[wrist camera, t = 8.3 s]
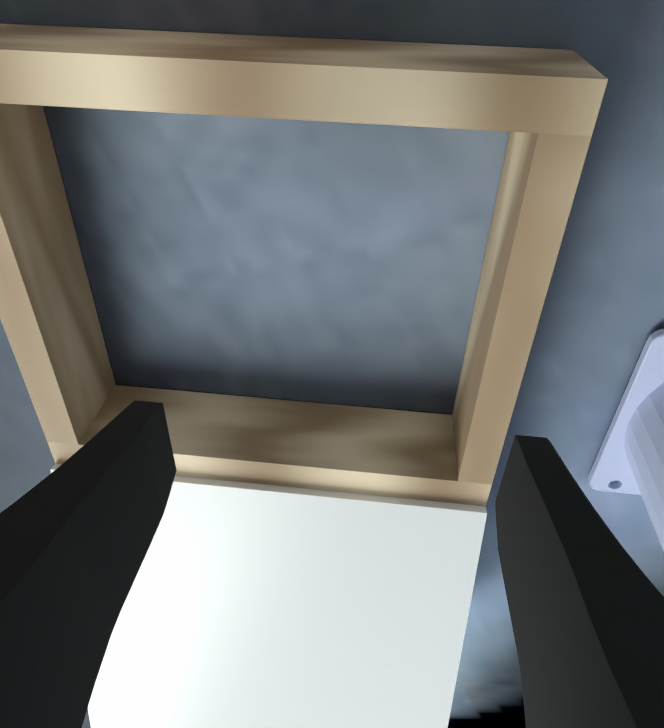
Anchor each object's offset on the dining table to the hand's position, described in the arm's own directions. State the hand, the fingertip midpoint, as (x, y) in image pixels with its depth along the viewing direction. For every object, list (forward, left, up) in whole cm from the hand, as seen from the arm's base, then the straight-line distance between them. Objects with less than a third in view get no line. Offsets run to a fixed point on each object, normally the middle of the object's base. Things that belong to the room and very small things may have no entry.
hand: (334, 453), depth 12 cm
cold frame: (+3, +8, -9) cm, 13 cm away
